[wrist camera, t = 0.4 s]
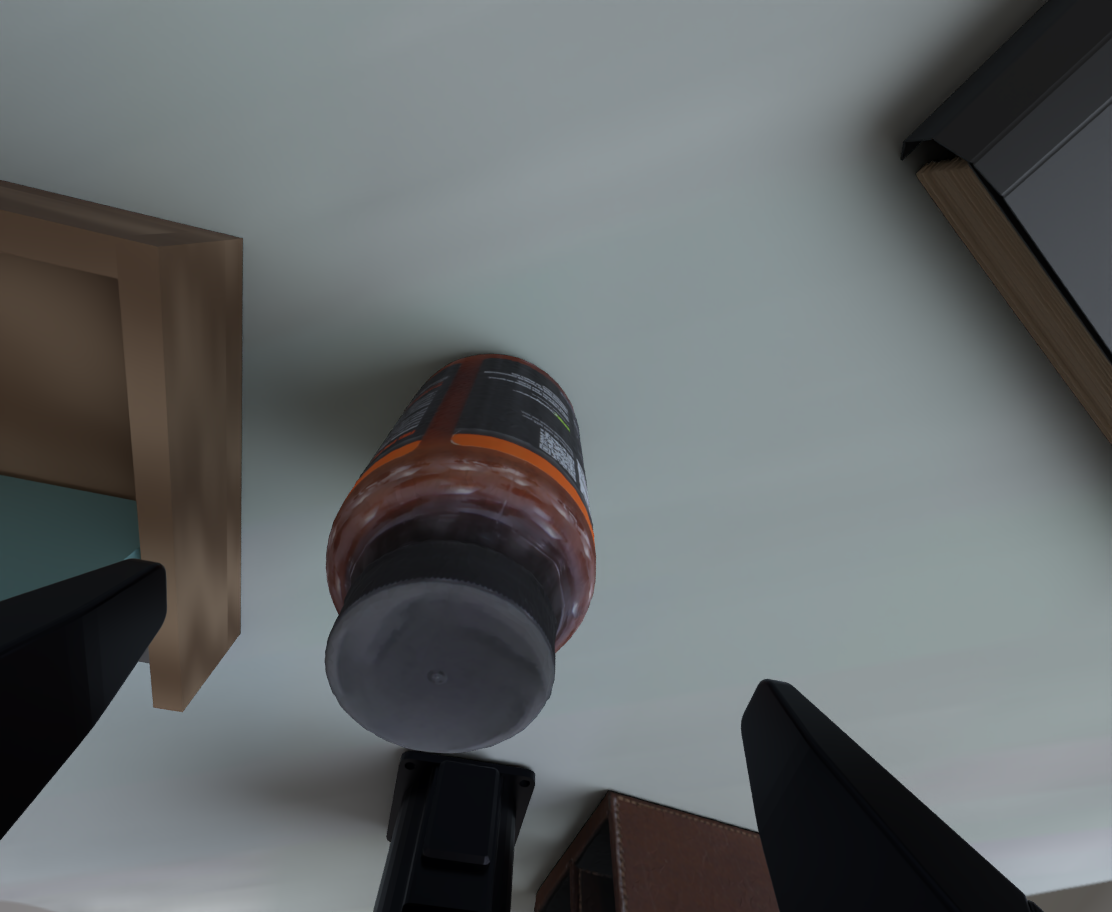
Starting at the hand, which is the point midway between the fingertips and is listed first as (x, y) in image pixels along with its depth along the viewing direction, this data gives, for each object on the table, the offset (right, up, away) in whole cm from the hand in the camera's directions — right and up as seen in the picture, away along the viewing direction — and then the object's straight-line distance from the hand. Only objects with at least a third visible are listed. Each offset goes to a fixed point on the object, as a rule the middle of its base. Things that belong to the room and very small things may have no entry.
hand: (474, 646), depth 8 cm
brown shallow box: (-15, +4, +11) cm, 19 cm away
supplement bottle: (-1, +4, +12) cm, 12 cm away
